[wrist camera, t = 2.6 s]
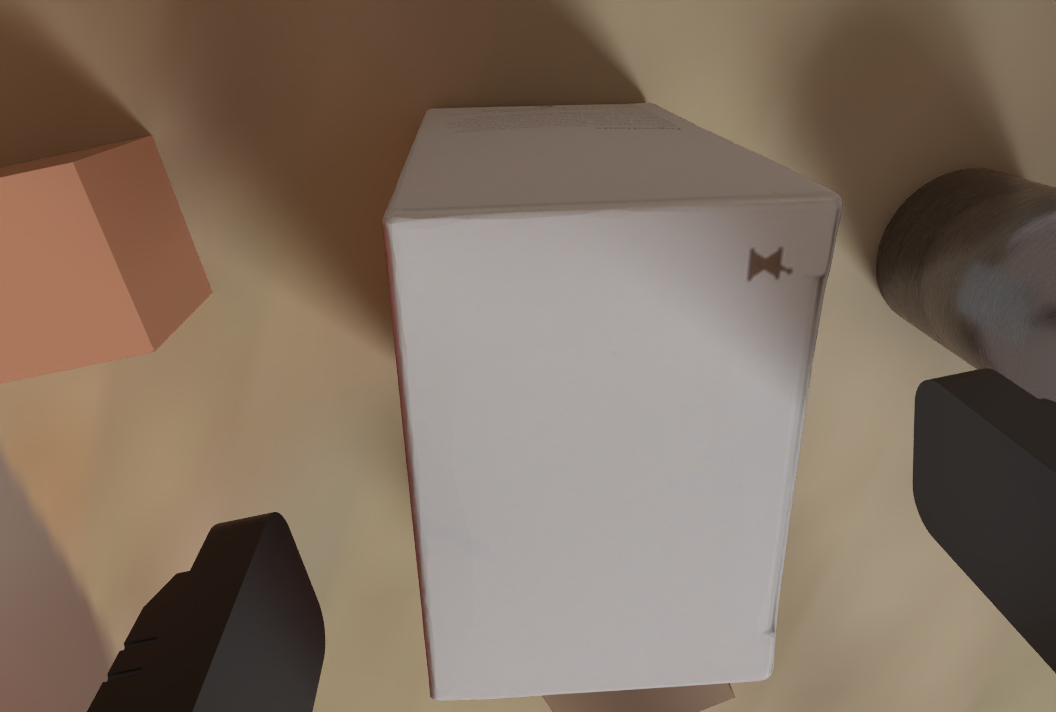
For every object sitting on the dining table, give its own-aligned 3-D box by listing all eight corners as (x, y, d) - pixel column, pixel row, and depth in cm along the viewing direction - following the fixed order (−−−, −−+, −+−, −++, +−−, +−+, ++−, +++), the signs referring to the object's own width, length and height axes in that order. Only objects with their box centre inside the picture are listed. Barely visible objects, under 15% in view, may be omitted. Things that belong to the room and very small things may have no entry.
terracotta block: (153, 134, 18) (72, 162, 14) (214, 291, 20) (154, 351, 16) (-50, 177, 18) (-182, 216, 15) (26, 330, 20) (-75, 399, 16)
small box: (424, 104, 18) (370, 195, 9) (656, 99, 18) (858, 180, 9) (444, 404, 21) (422, 716, 12) (642, 395, 22) (778, 693, 12)
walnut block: (638, 480, 23) (674, 579, 19) (691, 584, 25) (734, 697, 21) (503, 539, 23) (510, 648, 19) (565, 637, 25) (583, 757, 21)
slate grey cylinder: (1044, 152, 20) (1266, 202, 14) (1031, 310, 21) (1223, 408, 16) (875, 187, 20) (1031, 250, 14) (876, 341, 21) (1014, 450, 16)
